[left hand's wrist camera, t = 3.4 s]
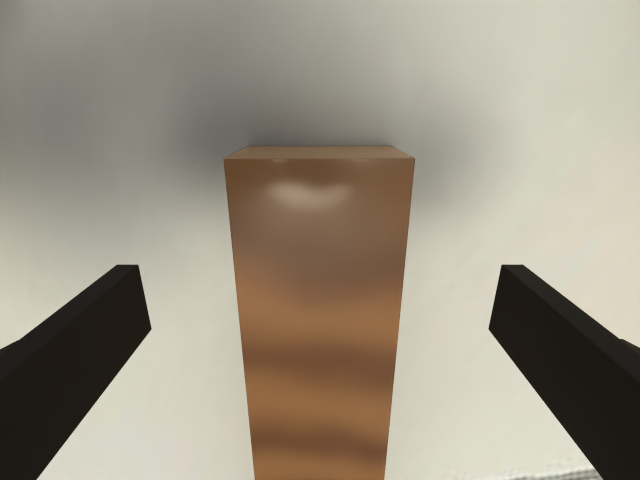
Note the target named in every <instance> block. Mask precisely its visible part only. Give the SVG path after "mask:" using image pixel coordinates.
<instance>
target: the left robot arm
mask: <svg viewBox="0 0 640 480" xmlns="http://www.w3.org/2000/svg"><path fill="white" fill-rule="evenodd" d="M150 330H151V324H150V319H149V315H148V310H147V305H146V300H145V295H144V290H143V285H142V281H141V276H140V271H139V266H138V265H116V266H115V267H113V268H112V269H111V270H110V271H108V272H107V273H106V274H104V275H103V276H102V277H100V278H99V279H98V280H97V281H95V282H94V283H93V284H91V285H90V286H89V287H87V288H86V289H85V290H84V291H82V292H81V293H80V294H78V295H77V296H76V297H74V298H73V299H72V300H71V301H69V302H68V303H67V304H65V305H64V306H63V307H61V308H60V309H59V310H58V311H56V312H55V313H54V314H52V315H51V316H50V317H48V318H47V319H46V320H45V321H43V322H42V323H41V324H39V325H38V326H37V327H35V328H34V329H33V330H32V331H30V332H29V333H28V334H26V335H25V336H24V337H22V338H21V339H20V340H18V341H16V342H14V343H12V344H10V345H8V346H6V347H4V348H2V349H0V480H37V478H38V477H39V476H40V474H41V473H42V472H43V470H44V469H45V468H46V467H47V465H48V464H49V463H50V461H51V460H52V459H53V457H54V456H55V455H56V453H57V452H58V451H59V449H60V448H61V447H62V446H63V444H64V443H65V442H66V440H67V439H68V438H69V436H70V435H71V434H72V432H73V431H74V430H75V429H76V427H77V426H78V425H79V423H80V422H81V421H82V419H83V418H84V417H85V415H86V414H87V413H88V412H89V410H90V409H91V408H92V406H93V405H94V404H95V402H96V401H97V400H98V398H99V397H100V396H101V395H102V393H103V392H104V391H105V389H106V388H107V387H108V385H109V384H110V383H111V381H112V380H113V379H114V378H115V376H116V375H117V374H118V372H119V371H120V370H121V368H122V367H123V366H124V364H125V363H126V362H127V361H128V359H129V358H130V357H131V355H132V354H133V353H134V351H135V350H136V349H137V347H138V346H139V345H140V344H141V342H142V341H143V340H144V338H145V337H146V336H147V334H148V333H149V332H150ZM489 330H490V332H491V333H492V334H493V336H494V337H495V338H496V340H497V341H498V342H499V344H500V345H501V346H502V347H503V349H504V350H505V351H506V353H507V354H508V355H509V357H510V358H511V359H512V361H513V362H514V363H515V364H516V366H517V367H518V368H519V370H520V371H521V372H522V374H523V375H524V376H525V378H526V379H527V380H528V381H529V383H530V384H531V385H532V387H533V388H534V389H535V391H536V392H537V393H538V395H539V396H540V397H541V398H542V400H543V401H544V402H545V404H546V405H547V406H548V408H549V409H550V410H551V412H552V413H553V414H554V415H555V417H556V418H557V419H558V421H559V422H560V423H561V425H562V426H563V427H564V429H565V430H566V431H567V432H568V434H569V435H570V436H571V438H572V439H573V440H574V442H575V443H576V444H577V446H578V447H579V448H580V449H581V451H582V452H583V453H584V455H585V456H586V457H587V459H588V460H589V461H590V463H591V464H592V465H593V467H594V468H595V469H596V470H597V472H598V473H599V474H600V476H601V477H602V478H603V480H640V348H639V347H637V346H635V345H633V344H631V343H629V342H627V341H625V340H623V339H619V338H618V337H616V336H615V335H614V334H612V333H611V332H610V331H608V330H607V329H606V328H605V327H603V326H602V325H601V324H599V323H598V322H597V321H595V320H594V319H593V318H592V317H590V316H589V315H588V314H586V313H585V312H584V311H582V310H581V309H580V308H579V307H577V306H576V305H575V304H573V303H572V302H571V301H569V300H568V299H567V298H566V297H564V296H563V295H562V294H560V293H559V292H558V291H556V290H555V289H554V288H553V287H551V286H550V285H549V284H547V283H546V282H545V281H543V280H542V279H541V278H540V277H538V276H537V275H536V274H534V273H533V272H532V271H530V270H529V269H528V268H527V267H525V266H524V265H502V266H501V271H500V276H499V281H498V285H497V290H496V295H495V300H494V305H493V310H492V315H491V319H490V324H489Z"/></svg>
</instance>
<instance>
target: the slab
mask: <svg viewBox="0 0 640 480" xmlns="http://www.w3.org/2000/svg"><path fill="white" fill-rule="evenodd" d="M414 163H415V158H413V157H411V156H409V155H407V154H406V153H404V152H402V151H400V150H398V149H396V148H394V147H392V146H247V147H245V148H243V149H241V150H239V151H237V152H235V153H233V154H231V155H229V156H227V157H225V158H224V167H225V177H226V188H227V198H228V208H229V218H230V229H231V239H232V249H233V260H234V270H235V280H236V290H237V301H238V311H239V321H240V331H241V342H242V352H243V362H244V373H245V383H246V393H247V403H248V414H249V424H250V434H251V444H252V455H253V465H254V475H255V480H384V476H385V465H386V455H387V445H388V434H389V424H390V413H391V403H392V392H393V382H394V372H395V361H396V351H397V340H398V330H399V320H400V309H401V299H402V288H403V278H404V267H405V257H406V247H407V236H408V226H409V215H410V205H411V195H412V184H413V174H414Z"/></svg>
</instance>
